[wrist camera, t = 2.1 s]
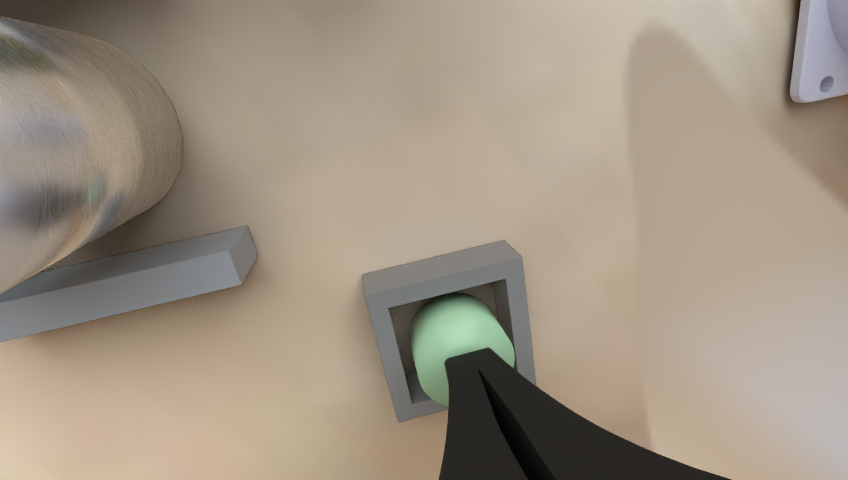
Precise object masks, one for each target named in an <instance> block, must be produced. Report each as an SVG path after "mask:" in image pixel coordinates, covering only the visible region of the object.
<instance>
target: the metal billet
mask: <svg viewBox="0 0 848 480" xmlns="http://www.w3.org/2000/svg"><path fill="white" fill-rule="evenodd" d="M182 155H183V138H182V132H181V127H180V123H179V120H178V117H177V114H176V112H175V110H174V107H173V105H172V103H171V101H170V100H169V98H168V96H167V95H166V93H165V91H164V90H163V88H162V87H161V86H160V85H159V83H158V82H157V81H156V79H155V78H154V77H153V76H152V75H151V74H150V73H149V72H148V71H147V70H146V69H145V68H144V67H143V66H141V65H140V64H139V63H138V62H137V61H136V60H134V59H133V58H132V57H130V56H129V55H127V54H126V53H124V52H123V51H121V50H119V49H118V48H116V47H114V46H112V45H110V44H108V43H106V42H103V41H101V40H98V39H96V38H93V37H90V36H86V35H83V34H79V33H75V32H71V31H66V30H62V29H57V28H53V27H48V26H44V25H39V24H35V23H30V22H26V21H21V20H17V19H12V18H8V17H4V16H0V294H2V293H4V292H5V291H7V290H9V289H11V288H12V287H14V286H16V285H18V284H19V283H21V282H23V281H25V280H26V279H28V278H30V277H31V276H33V275H35V274H37V273H38V272H40V271H42V270H44V269H45V268H47V267H49V266H50V265H52V264H54V263H56V262H57V261H59V260H61V259H63V258H64V257H66V256H68V255H70V254H71V253H73V252H75V251H76V250H78V249H80V248H82V247H83V246H85V245H87V244H89V243H90V242H92V241H94V240H95V239H97V238H99V237H101V236H102V235H104V234H106V233H108V232H109V231H111V230H113V229H115V228H116V227H118V226H120V225H121V224H123V223H125V222H127V221H128V220H130V219H132V218H134V217H135V216H137V215H139V214H140V213H142V212H144V211H146V210H147V209H149V208H151V207H152V206H154V205H155V204H156V203H157V202H159V201H160V200H161V199H162V198H163V197H164V196H165V195H166V194H167V192H168V191H169V190H170V188H171V187H172V185H173V184H174V182H175V180H176V178H177V175H178V173H179V170H180V166H181V162H182Z"/></svg>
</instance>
